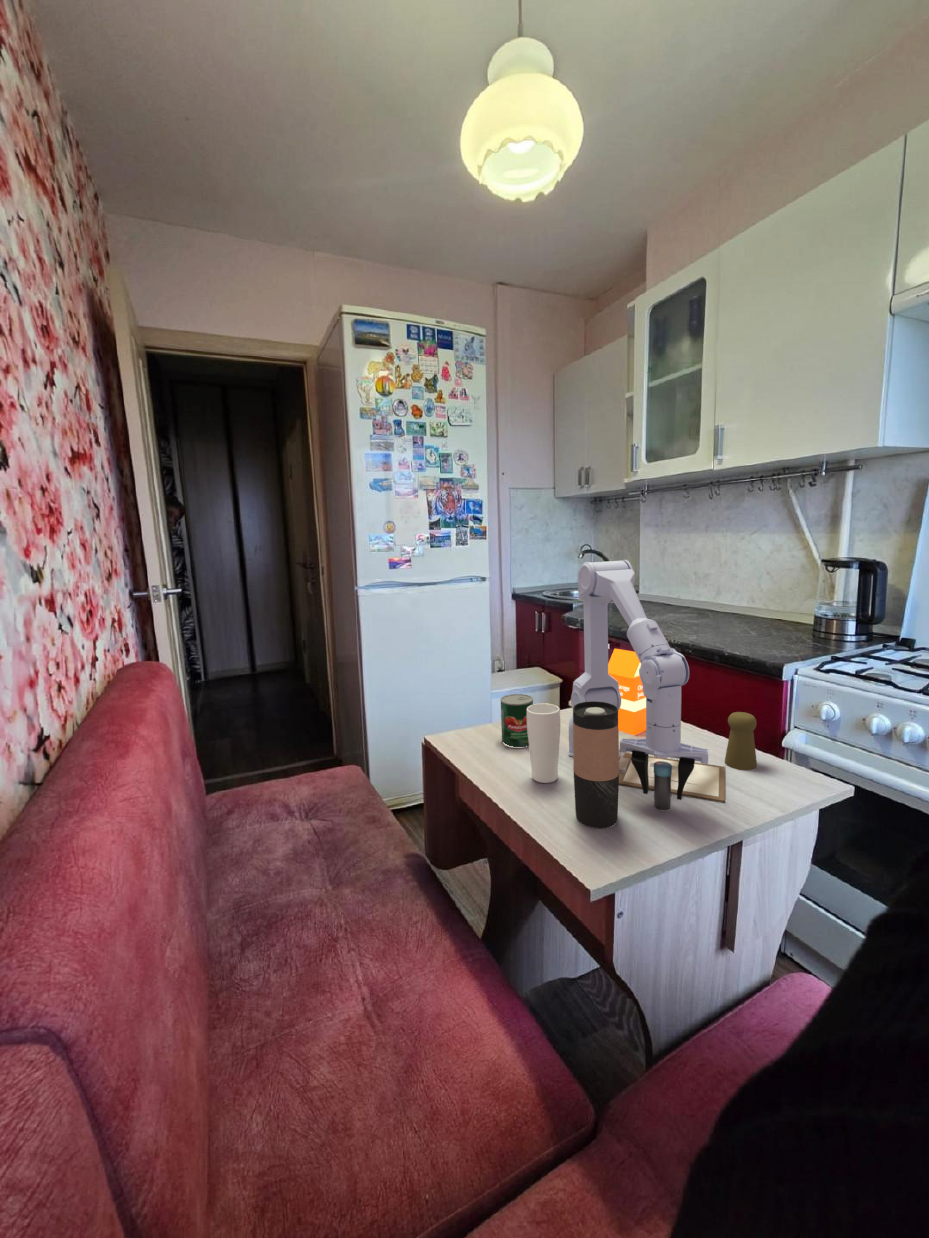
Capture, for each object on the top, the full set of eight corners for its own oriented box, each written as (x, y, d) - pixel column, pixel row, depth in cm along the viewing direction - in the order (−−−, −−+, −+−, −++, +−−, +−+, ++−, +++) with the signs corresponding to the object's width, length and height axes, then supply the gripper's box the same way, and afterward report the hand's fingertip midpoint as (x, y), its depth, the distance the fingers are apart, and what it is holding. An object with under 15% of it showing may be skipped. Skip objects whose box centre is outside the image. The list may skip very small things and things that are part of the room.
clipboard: (611, 783, 101) (611, 777, 101) (624, 754, 114) (624, 749, 114) (724, 802, 92) (724, 796, 92) (724, 768, 105) (724, 762, 105)
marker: (652, 809, 91) (652, 766, 90) (654, 801, 94) (654, 760, 92) (670, 812, 90) (670, 769, 88) (672, 804, 92) (672, 762, 91)
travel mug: (617, 807, 92) (617, 701, 89) (620, 831, 85) (620, 716, 82) (574, 804, 94) (572, 700, 91) (573, 827, 86) (571, 714, 83)
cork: (761, 770, 103) (763, 719, 102) (729, 769, 104) (731, 718, 103) (751, 758, 109) (753, 709, 107) (720, 757, 110) (722, 708, 109)
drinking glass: (549, 789, 100) (547, 716, 98) (521, 779, 105) (519, 709, 102) (567, 776, 105) (566, 706, 103) (540, 768, 109) (538, 701, 107)
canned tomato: (513, 751, 119) (511, 706, 117) (495, 740, 126) (494, 697, 124) (540, 743, 123) (539, 699, 121) (522, 733, 129) (521, 692, 128)
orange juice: (623, 719, 136) (623, 646, 133) (652, 727, 129) (653, 650, 126) (604, 726, 132) (604, 650, 129) (633, 735, 125) (634, 656, 122)
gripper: (616, 724, 89) (616, 796, 91) (708, 735, 82) (706, 812, 84) (623, 711, 95) (623, 779, 97) (709, 720, 89) (707, 793, 91)
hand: (662, 794), depth 91 cm, fingers open, 5 cm apart
